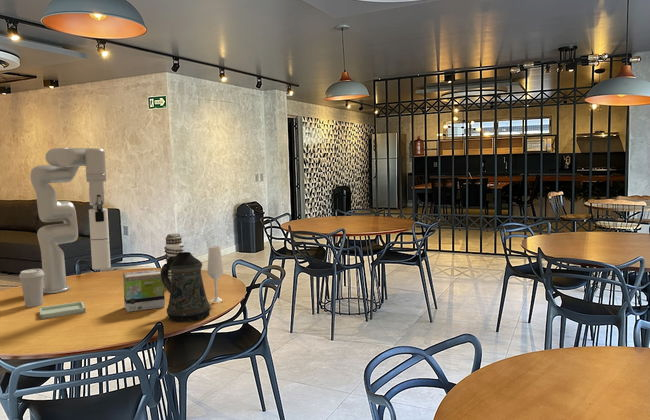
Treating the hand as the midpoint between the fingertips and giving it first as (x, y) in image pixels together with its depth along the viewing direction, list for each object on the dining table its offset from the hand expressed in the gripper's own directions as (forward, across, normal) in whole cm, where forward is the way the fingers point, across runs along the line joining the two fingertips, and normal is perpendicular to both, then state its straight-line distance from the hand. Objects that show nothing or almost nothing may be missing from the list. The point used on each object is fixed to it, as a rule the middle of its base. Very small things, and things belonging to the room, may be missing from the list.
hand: (98, 220), depth 210 cm
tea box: (+36, +14, +14) cm, 42 cm away
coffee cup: (+37, -17, -26) cm, 48 cm away
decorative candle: (+37, -19, +35) cm, 54 cm away
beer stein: (+36, +36, +25) cm, 57 cm away
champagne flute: (+36, +23, +42) cm, 60 cm away
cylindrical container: (+21, 0, 0) cm, 21 cm away
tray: (+37, +2, -16) cm, 40 cm away
